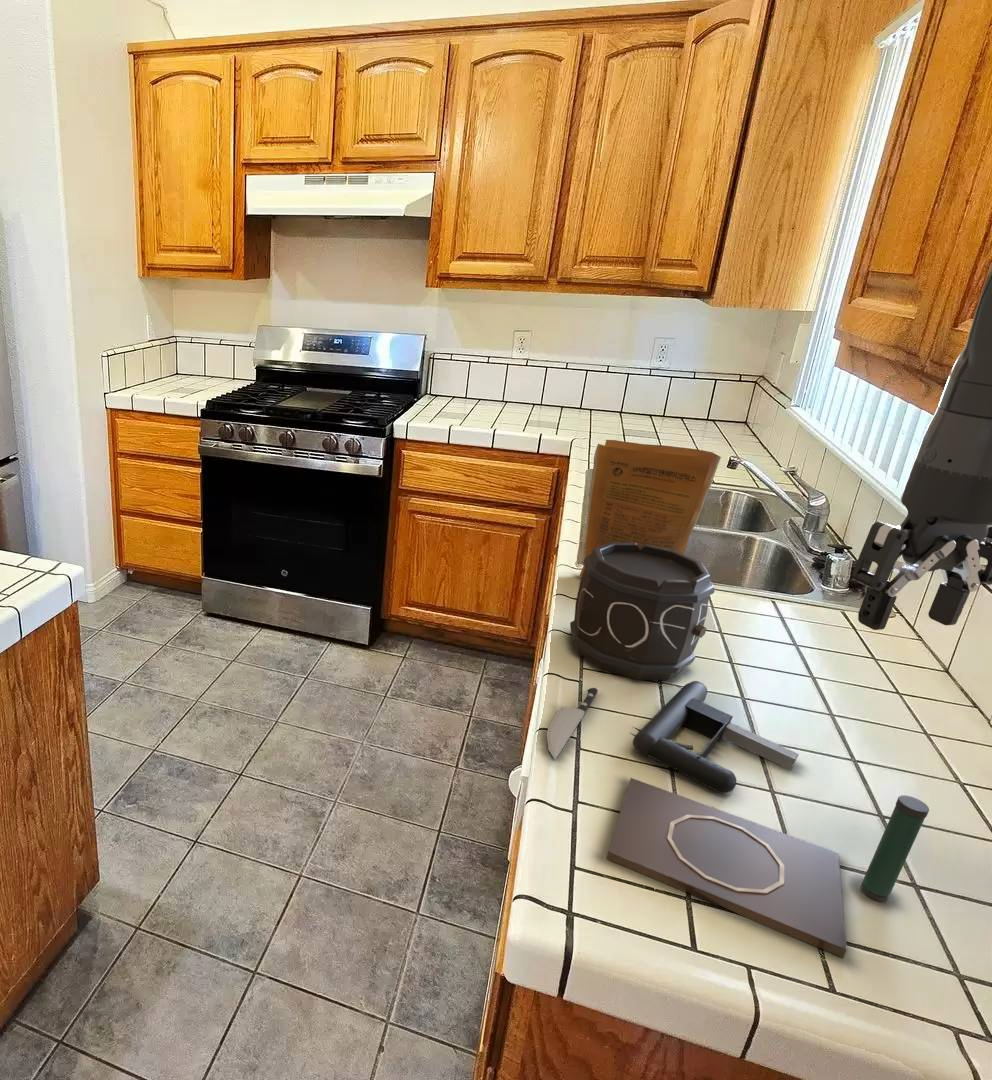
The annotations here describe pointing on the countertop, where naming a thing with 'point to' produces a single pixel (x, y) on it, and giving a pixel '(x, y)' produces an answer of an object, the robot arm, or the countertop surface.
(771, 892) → the drawing board
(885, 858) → the marker
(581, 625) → the coffee canister
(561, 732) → the chef's knife
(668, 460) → the pancake mix bag
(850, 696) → the countertop surface
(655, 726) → the door handle
